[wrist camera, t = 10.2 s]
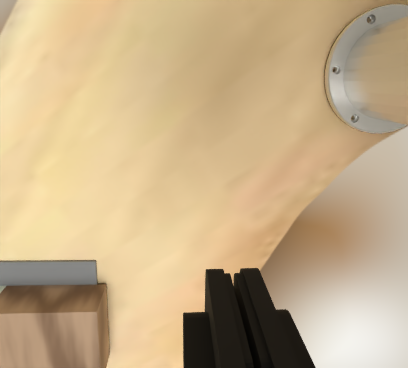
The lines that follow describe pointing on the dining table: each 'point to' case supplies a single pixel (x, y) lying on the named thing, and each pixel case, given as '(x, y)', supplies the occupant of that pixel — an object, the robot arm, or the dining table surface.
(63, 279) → the mat
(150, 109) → the dining table surface
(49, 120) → the dining table surface
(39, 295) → the walnut block
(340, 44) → the robot arm
